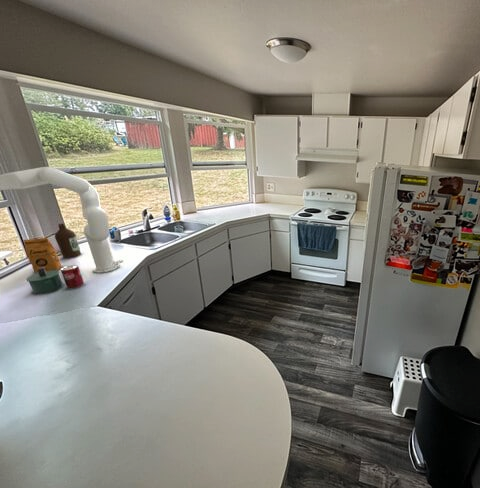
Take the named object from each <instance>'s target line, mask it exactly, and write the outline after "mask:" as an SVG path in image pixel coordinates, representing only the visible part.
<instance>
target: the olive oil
mask: <svg viewBox="0 0 480 488" xmlns="http://www.w3.org/2000/svg"><path fill="white" fill-rule="evenodd" d="M57 225H58V228H59V229H58V230H57V232H55V235H54V239H55V241H56V244H57V245H58V248H59V250H60V252H61V255H62V257H63V258H64V259H73V258H76V257H80V256H81V255H82V252H81V247H80V245H79V241H78V238H77V235H76V233H75V232H74V231H73V230H71V229H70V228H67V226H66V224H65V222H59V223H57Z"/></svg>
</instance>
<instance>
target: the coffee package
mask: <svg viewBox="0 0 480 488" xmlns="http://www.w3.org/2000/svg"><path fill="white" fill-rule="evenodd" d="M23 243H24V248H25V249H24V250H25V253H26V256H27V258H28V261H29V263H30V265H31V266H32V269H33V273H34V274H37V273H38V271H37V268H40V267H44V269H45V271H52V270H56V271H59V270H61V269H62V268H63V265H62V263H61V260H60V257H59V256H58V253H57V251H56V249H55V247H54V246H53V244H52V243H51V241H50V240H49V238H47V237H41V238H27V239H23Z"/></svg>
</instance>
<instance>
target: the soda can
mask: <svg viewBox="0 0 480 488" xmlns="http://www.w3.org/2000/svg"><path fill="white" fill-rule="evenodd" d="M60 273H61V275H62V278H63V280H64V283H65V286H66V288H67V289H70V290H73V289H74V290H75V289H78V288H81V287H82V286H84V285H85V281H84V278H83V276H82V273H81V270H80V267H79V265H77V264H70V265H67V266H62V267H61V268H60Z"/></svg>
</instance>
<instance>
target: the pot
mask: <svg viewBox="0 0 480 488" xmlns="http://www.w3.org/2000/svg"><path fill="white" fill-rule="evenodd" d="M28 283H29V286H30V288H31V290H32V292H33V294H35V295H43V294H49V293H52V292H55V291H58V290H59V289H61V288H62V287H63V286H64V283H63V281H62V278H61V275H60V273H59V274H58V275H57V276H55V277H52V278H49V279H46V280H42V281H35V282H29V281H28Z"/></svg>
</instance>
